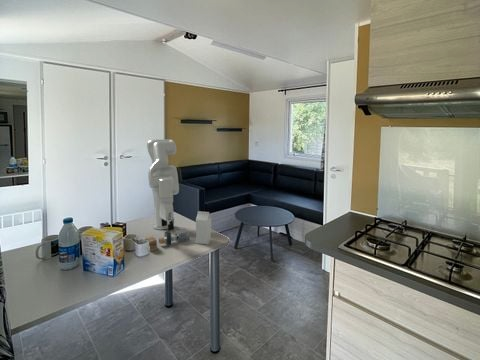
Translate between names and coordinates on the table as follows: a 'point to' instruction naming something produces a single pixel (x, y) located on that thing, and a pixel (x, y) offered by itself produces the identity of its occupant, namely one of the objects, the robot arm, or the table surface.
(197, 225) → the milk carton
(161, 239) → the tube
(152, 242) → the socket block
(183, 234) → the sleeve
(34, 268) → the table surface
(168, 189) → the robot arm
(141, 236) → the table surface
